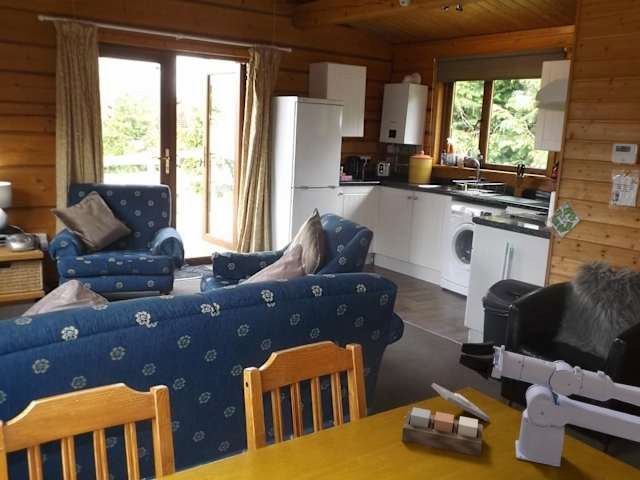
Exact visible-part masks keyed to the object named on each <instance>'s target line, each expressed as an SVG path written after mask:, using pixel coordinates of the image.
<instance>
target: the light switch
mask: <svg viewBox="0 0 640 480" xmlns="http://www.w3.org/2000/svg"><path fill="white" fill-rule="evenodd" d="M431 388H433V390H435V391H436V393H438V394H439V395H440V396H441V397H442V398H443V399H444V400H445V401H446V402H448V403H451V404H452V405H454V406H455V407H458V408H461V409H462V410H464V411H466V412H468V413H470V414H471V415H474V416H475V417H478V418H480V419H481V420H484V421H485V422H489V420H490V417H489V415H487V414H486V413H484V411H482V410H481V409H480V408H479V407H478V406H477V405H476V404H474V403H473V402H471V401H470V400H468V399H467V398H465V396H463V395H461V394H460V393H457V392H455V393H454V392H452V391H450V390H449V389H447V388H444V387H442V386H441V385H438V384H437V383H435V382H433V383H432V384H431Z"/></svg>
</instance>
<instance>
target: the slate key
mask: <svg viewBox="0 0 640 480" xmlns="http://www.w3.org/2000/svg"><path fill="white" fill-rule="evenodd" d="M411 411H412V413H411V419H410V425H414V426H419V427H424V428H428V425H429V420H430V415H431V410H429V409H425V408H419V407H414V406H413V407H412V410H411Z"/></svg>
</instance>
